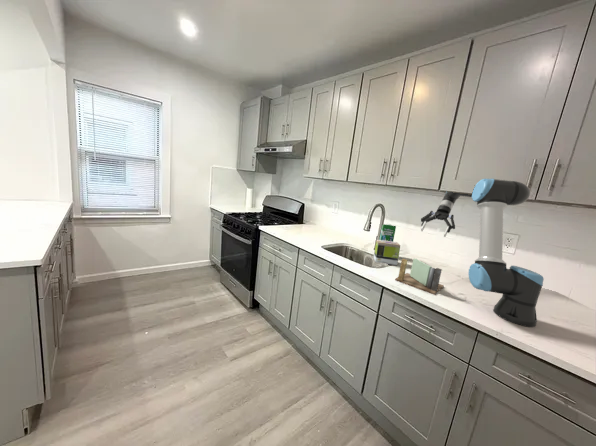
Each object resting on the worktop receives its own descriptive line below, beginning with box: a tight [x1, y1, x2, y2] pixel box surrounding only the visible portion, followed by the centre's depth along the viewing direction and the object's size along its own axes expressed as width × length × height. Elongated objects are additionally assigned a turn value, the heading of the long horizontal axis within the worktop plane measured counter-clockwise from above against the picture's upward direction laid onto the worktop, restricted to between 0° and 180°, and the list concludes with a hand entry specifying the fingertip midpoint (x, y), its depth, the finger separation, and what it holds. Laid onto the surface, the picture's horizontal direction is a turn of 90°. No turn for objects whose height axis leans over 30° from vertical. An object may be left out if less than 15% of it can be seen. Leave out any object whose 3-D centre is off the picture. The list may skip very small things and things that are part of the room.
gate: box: [409, 257, 436, 288], centre depth 141 cm, size 17×2×11 cm, turn 10°
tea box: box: [373, 239, 401, 266], centre depth 176 cm, size 15×10×15 cm, turn 80°
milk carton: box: [378, 223, 397, 242], centre depth 192 cm, size 9×9×25 cm
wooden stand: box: [394, 258, 444, 296], centre depth 141 cm, size 21×18×13 cm
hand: (432, 232), depth 158 cm, fingers open, 13 cm apart
